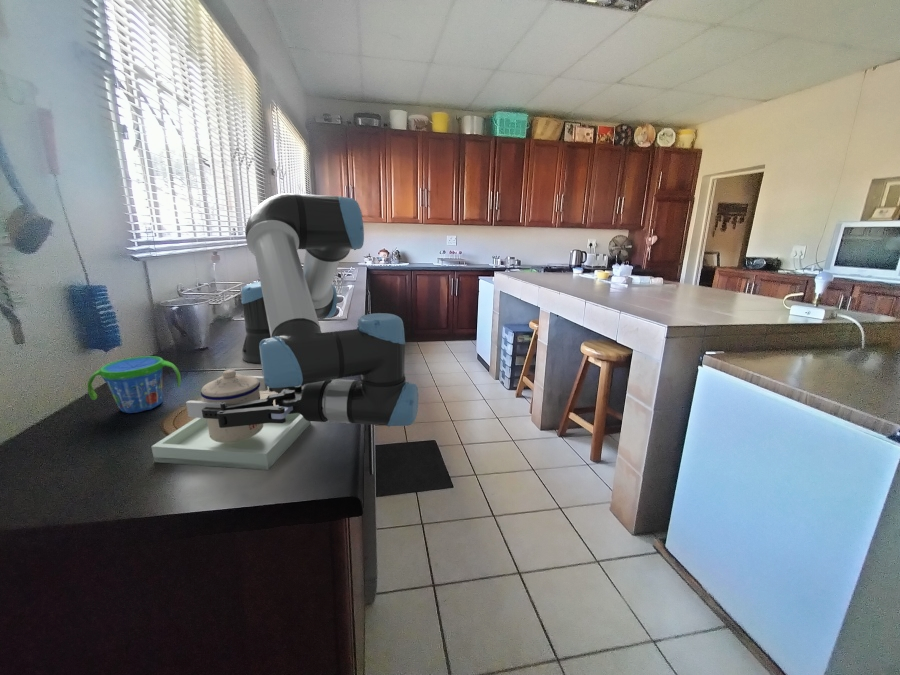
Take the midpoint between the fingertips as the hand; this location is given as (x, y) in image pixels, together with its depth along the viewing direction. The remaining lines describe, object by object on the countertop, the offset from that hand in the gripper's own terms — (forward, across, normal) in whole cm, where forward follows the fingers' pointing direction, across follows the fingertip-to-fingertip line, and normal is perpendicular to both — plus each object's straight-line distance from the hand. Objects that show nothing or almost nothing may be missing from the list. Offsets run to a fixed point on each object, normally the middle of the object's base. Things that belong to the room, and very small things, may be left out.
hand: (213, 394), depth 68 cm
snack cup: (+26, +11, -9) cm, 30 cm away
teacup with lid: (-4, 0, -7) cm, 8 cm away
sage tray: (-4, 0, -9) cm, 10 cm away
